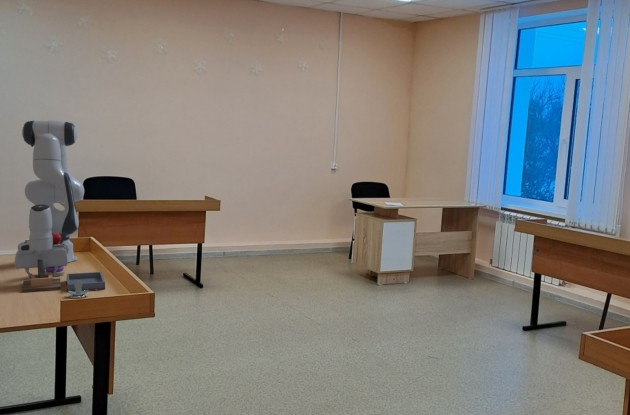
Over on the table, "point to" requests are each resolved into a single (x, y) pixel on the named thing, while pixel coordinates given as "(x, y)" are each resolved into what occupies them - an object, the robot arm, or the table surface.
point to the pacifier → (77, 290)
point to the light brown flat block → (41, 280)
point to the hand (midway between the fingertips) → (42, 277)
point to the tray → (86, 281)
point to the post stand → (41, 274)
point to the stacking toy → (60, 268)
